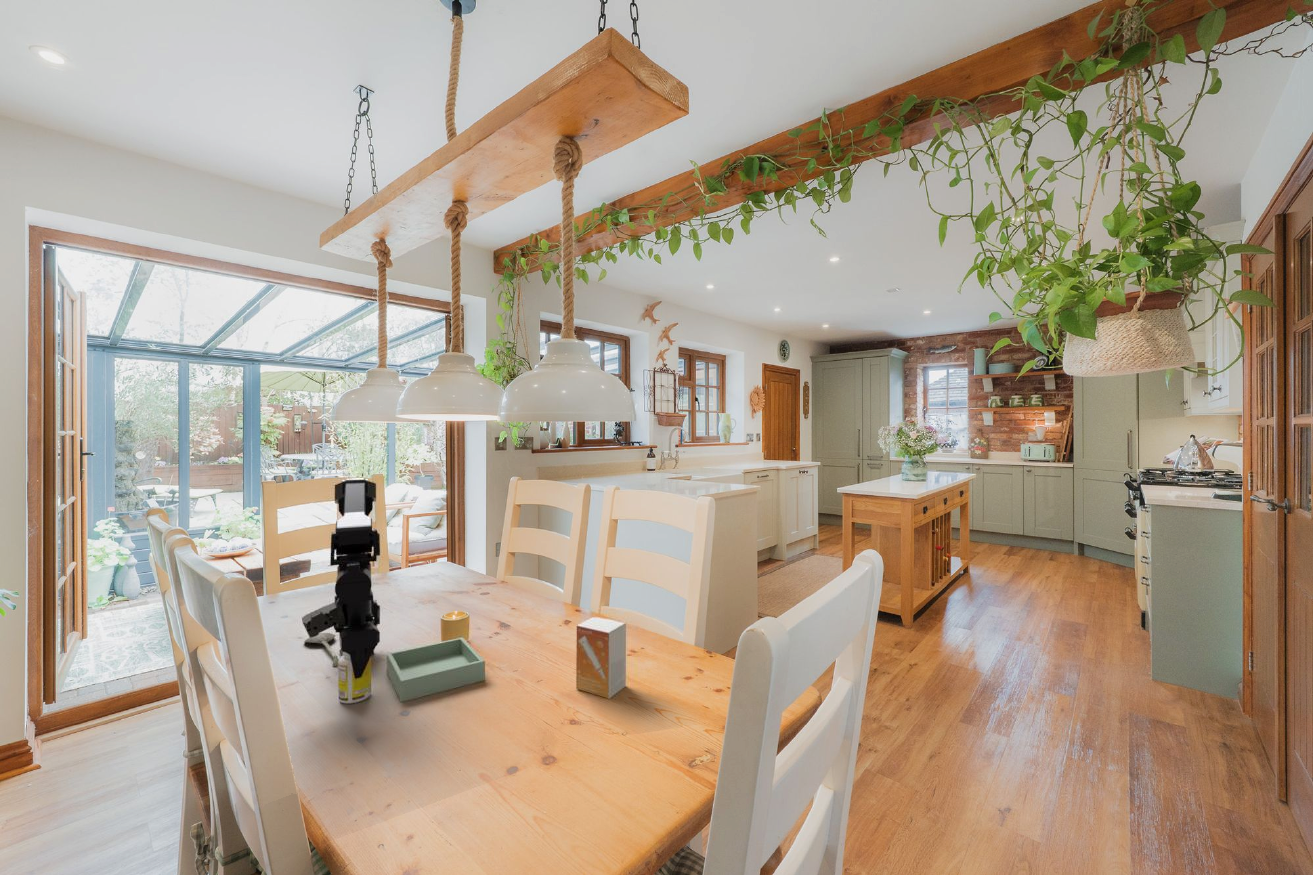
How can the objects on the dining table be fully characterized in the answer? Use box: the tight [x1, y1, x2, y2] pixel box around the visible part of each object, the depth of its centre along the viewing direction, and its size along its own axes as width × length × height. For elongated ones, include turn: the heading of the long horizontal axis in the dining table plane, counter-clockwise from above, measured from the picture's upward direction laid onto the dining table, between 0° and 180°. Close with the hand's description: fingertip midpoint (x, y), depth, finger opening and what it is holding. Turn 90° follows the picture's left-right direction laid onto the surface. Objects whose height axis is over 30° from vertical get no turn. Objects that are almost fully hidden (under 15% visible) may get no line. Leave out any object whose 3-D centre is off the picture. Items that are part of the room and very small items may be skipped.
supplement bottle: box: [337, 652, 372, 705], centre depth 106 cm, size 6×6×10 cm
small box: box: [575, 616, 627, 700], centre depth 110 cm, size 8×6×13 cm
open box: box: [386, 637, 486, 703], centre depth 115 cm, size 16×16×4 cm
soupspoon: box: [303, 632, 339, 667], centre depth 129 cm, size 22×3×7 cm
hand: (354, 669), depth 106 cm, fingers open, 9 cm apart
